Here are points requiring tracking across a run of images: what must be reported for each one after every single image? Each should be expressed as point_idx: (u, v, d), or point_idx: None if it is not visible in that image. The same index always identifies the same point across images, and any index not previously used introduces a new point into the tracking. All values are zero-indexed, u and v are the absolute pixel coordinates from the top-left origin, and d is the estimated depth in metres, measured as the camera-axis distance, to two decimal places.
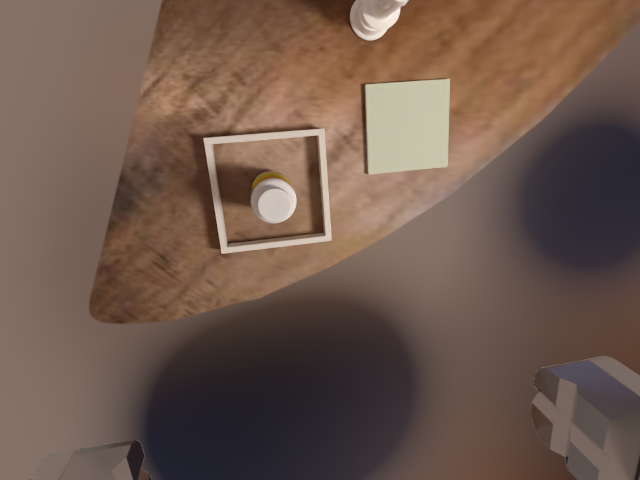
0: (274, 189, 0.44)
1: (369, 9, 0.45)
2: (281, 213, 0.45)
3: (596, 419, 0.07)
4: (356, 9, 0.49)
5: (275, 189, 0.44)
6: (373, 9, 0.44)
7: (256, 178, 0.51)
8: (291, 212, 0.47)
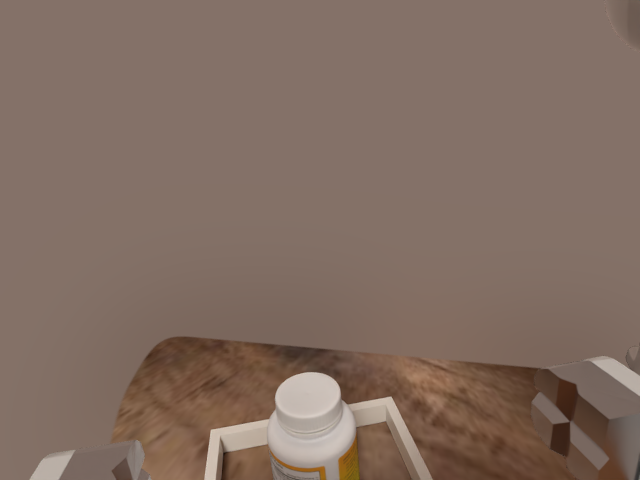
0: (338, 389, 0.23)
1: None
2: (292, 402, 0.22)
3: (596, 419, 0.07)
4: None
5: (338, 390, 0.23)
6: None
7: None
8: (289, 451, 0.22)
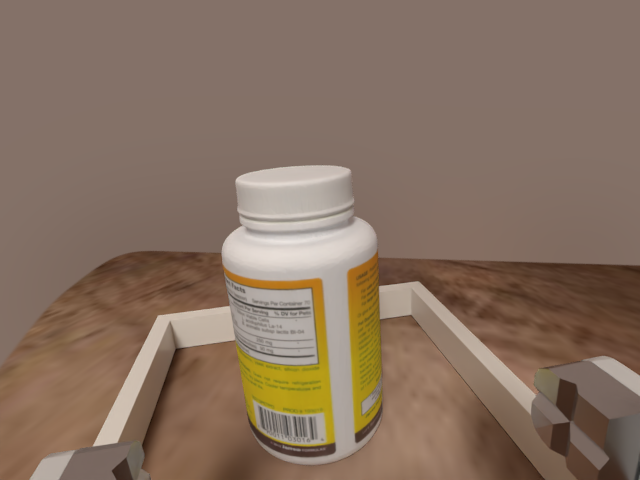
0: (347, 170, 0.13)
1: None
2: (264, 178, 0.12)
3: (596, 419, 0.07)
4: None
5: (347, 170, 0.13)
6: None
7: None
8: (255, 254, 0.12)
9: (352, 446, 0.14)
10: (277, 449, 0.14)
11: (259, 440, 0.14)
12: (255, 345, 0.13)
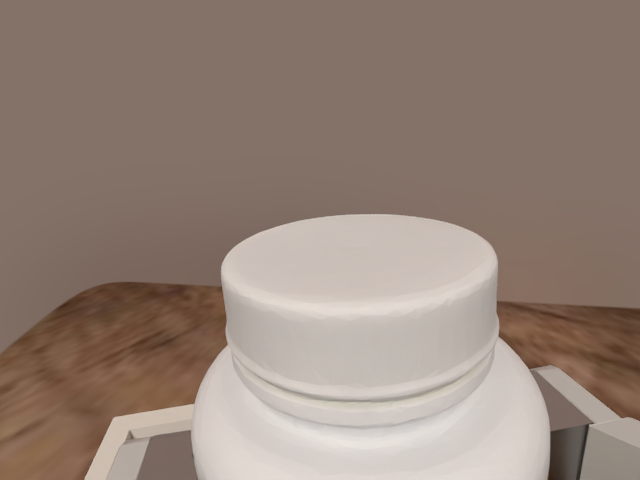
0: None
1: None
2: (292, 269, 0.05)
3: None
4: None
5: (478, 238, 0.06)
6: None
7: None
8: None
9: None
10: None
11: None
12: None
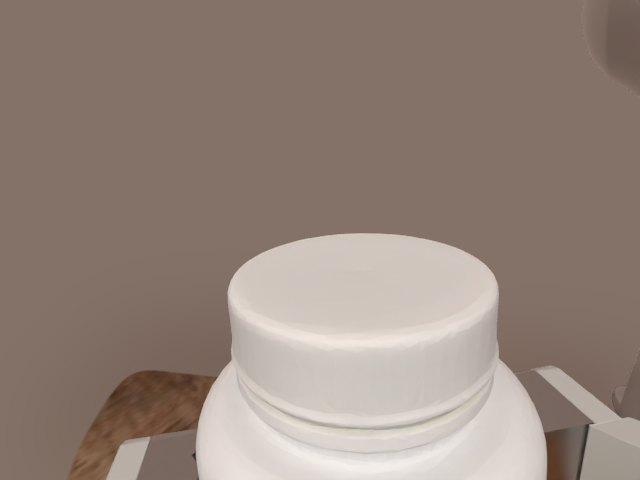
0: (476, 261, 0.06)
1: None
2: (297, 294, 0.05)
3: None
4: None
5: (479, 264, 0.06)
6: None
7: None
8: None
9: None
10: None
11: None
12: None
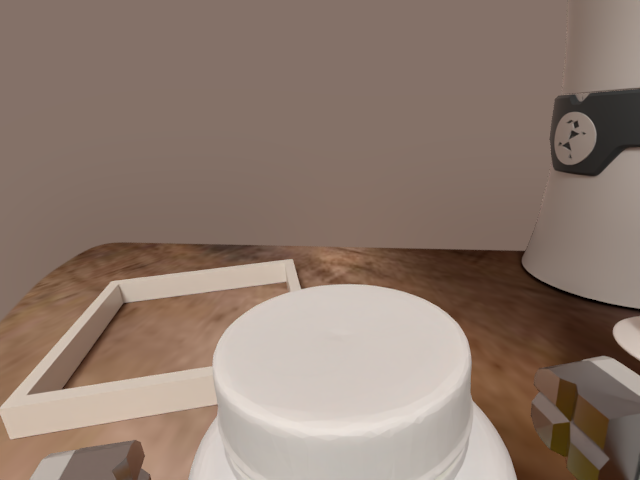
0: (452, 324, 0.06)
1: None
2: (278, 368, 0.05)
3: (596, 419, 0.07)
4: None
5: (455, 327, 0.06)
6: None
7: None
8: None
9: None
10: None
11: None
12: None
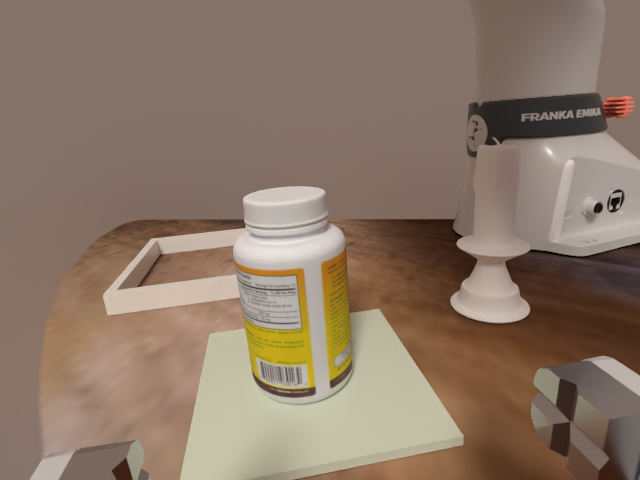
0: (322, 191, 0.18)
1: None
2: (263, 198, 0.18)
3: (596, 419, 0.07)
4: None
5: (323, 191, 0.18)
6: None
7: None
8: (257, 252, 0.17)
9: (327, 390, 0.19)
10: (274, 392, 0.19)
11: (261, 388, 0.20)
12: (257, 316, 0.18)
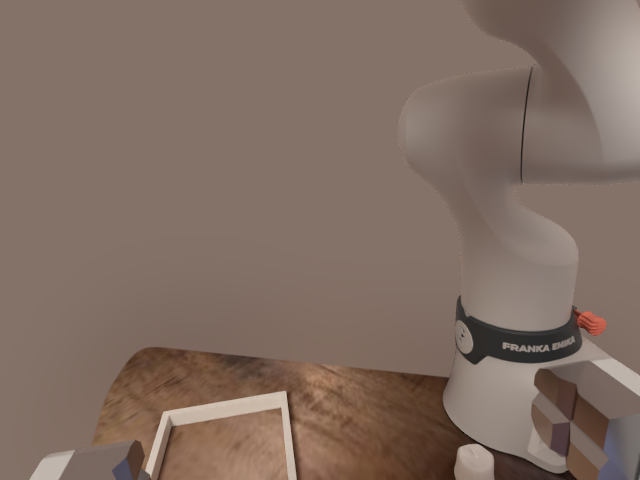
0: None
1: None
2: None
3: (596, 419, 0.07)
4: None
5: None
6: None
7: None
8: None
9: None
10: None
11: None
12: None
